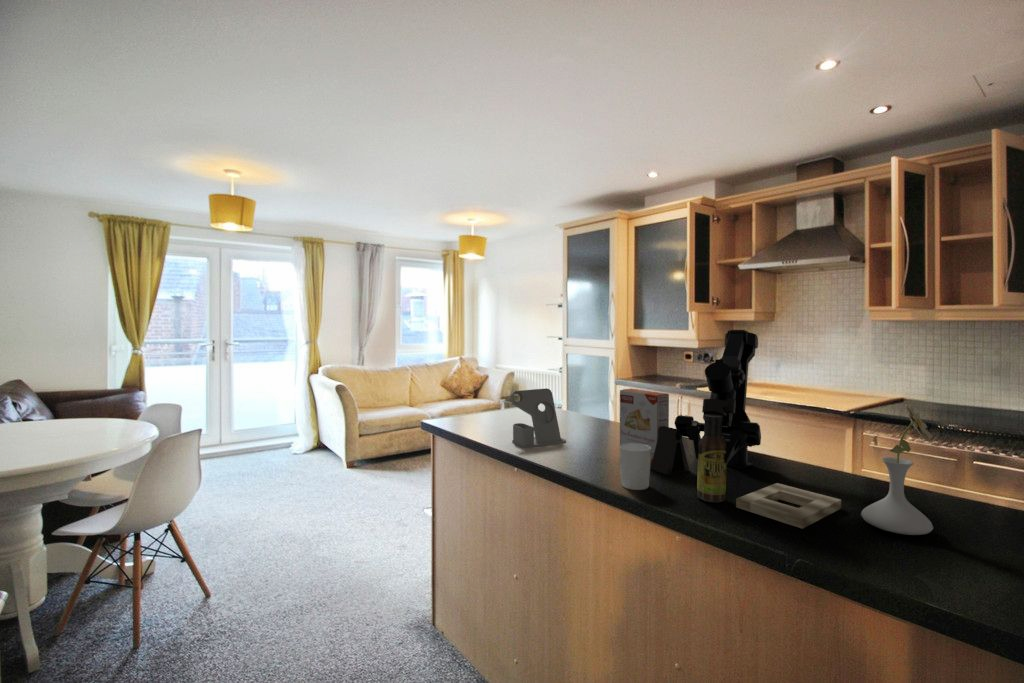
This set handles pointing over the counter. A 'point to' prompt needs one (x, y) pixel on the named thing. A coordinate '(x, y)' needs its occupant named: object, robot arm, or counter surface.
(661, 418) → the cracker box
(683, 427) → the robot arm
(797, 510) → the board
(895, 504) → the flower in vase
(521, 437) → the phone holder
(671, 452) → the door stopper
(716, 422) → the sauce bottle
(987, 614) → the counter surface
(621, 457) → the white cup
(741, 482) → the counter surface
